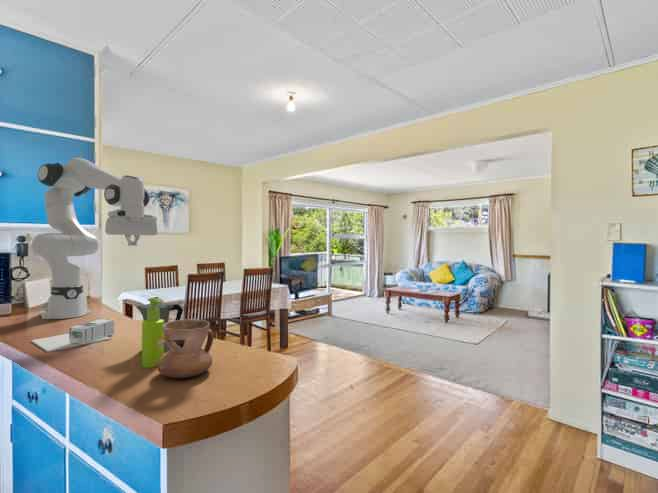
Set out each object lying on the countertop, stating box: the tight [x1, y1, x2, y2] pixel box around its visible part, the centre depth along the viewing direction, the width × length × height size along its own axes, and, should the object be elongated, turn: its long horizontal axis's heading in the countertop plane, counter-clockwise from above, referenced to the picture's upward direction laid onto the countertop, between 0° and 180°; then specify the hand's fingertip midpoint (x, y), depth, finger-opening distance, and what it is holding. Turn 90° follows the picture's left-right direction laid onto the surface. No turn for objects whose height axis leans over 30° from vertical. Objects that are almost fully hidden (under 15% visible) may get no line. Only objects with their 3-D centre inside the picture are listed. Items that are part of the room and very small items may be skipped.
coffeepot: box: [135, 296, 184, 353], centre depth 118 cm, size 15×9×18 cm, turn 92°
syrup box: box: [68, 317, 115, 345], centre depth 128 cm, size 6×6×14 cm
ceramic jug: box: [156, 318, 215, 379], centre depth 99 cm, size 18×14×14 cm
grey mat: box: [30, 333, 112, 353], centre depth 127 cm, size 18×19×1 cm
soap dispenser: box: [141, 297, 165, 369], centre depth 105 cm, size 6×7×20 cm
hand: (132, 245), depth 151 cm, fingers closed
